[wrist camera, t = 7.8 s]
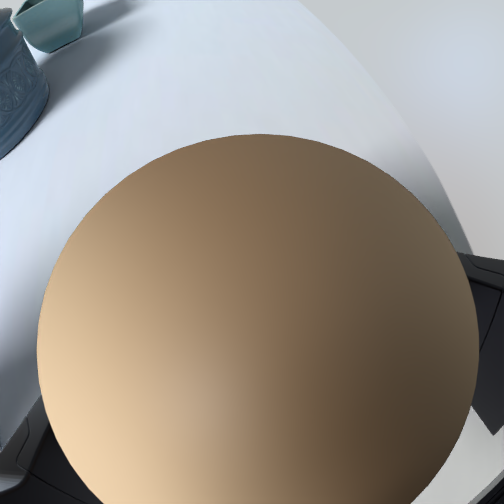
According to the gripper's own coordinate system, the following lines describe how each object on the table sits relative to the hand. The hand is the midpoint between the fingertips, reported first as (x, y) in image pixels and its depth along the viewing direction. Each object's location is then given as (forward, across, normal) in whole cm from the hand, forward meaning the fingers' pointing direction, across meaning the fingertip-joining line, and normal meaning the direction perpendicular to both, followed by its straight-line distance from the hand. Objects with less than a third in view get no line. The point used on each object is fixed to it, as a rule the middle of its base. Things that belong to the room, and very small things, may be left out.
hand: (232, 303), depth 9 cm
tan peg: (+5, 0, +7) cm, 8 cm away
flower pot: (+35, +11, -23) cm, 44 cm away
